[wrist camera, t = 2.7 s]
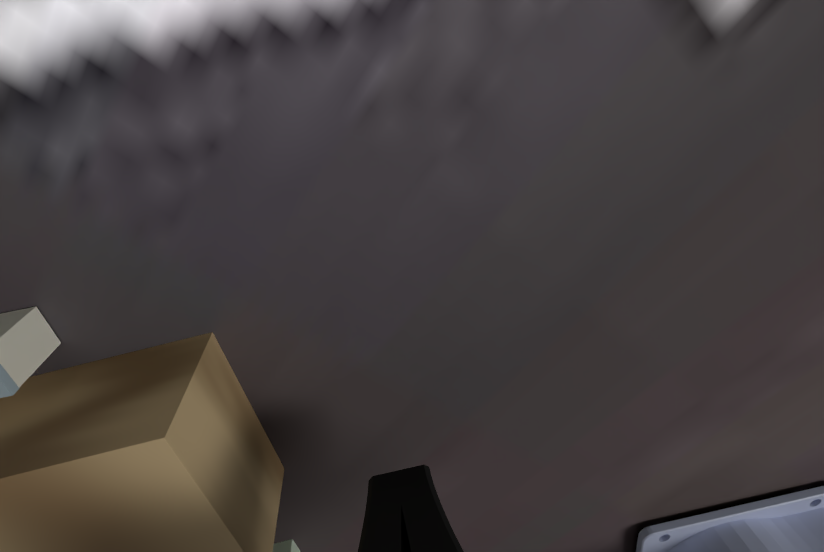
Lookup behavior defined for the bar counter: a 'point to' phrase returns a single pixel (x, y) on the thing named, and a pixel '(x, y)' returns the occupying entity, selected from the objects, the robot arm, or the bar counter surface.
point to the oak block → (138, 457)
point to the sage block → (285, 546)
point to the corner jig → (23, 347)
